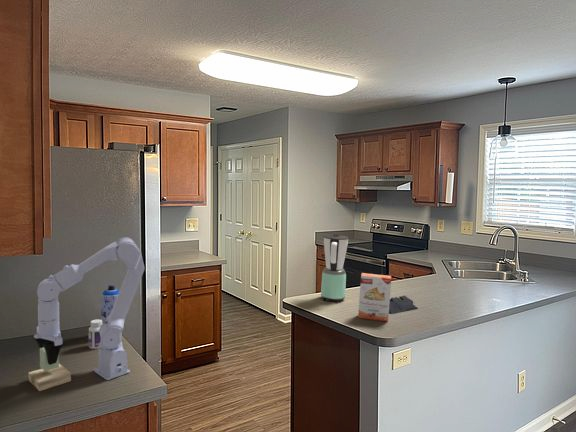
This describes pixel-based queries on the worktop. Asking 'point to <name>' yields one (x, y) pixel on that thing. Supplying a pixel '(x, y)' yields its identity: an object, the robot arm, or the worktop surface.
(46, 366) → the green block
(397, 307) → the dark slate chunk
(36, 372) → the birch block
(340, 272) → the mint green blender
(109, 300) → the aerosol can
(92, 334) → the pill bottle
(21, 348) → the worktop surface
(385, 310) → the cracker box
